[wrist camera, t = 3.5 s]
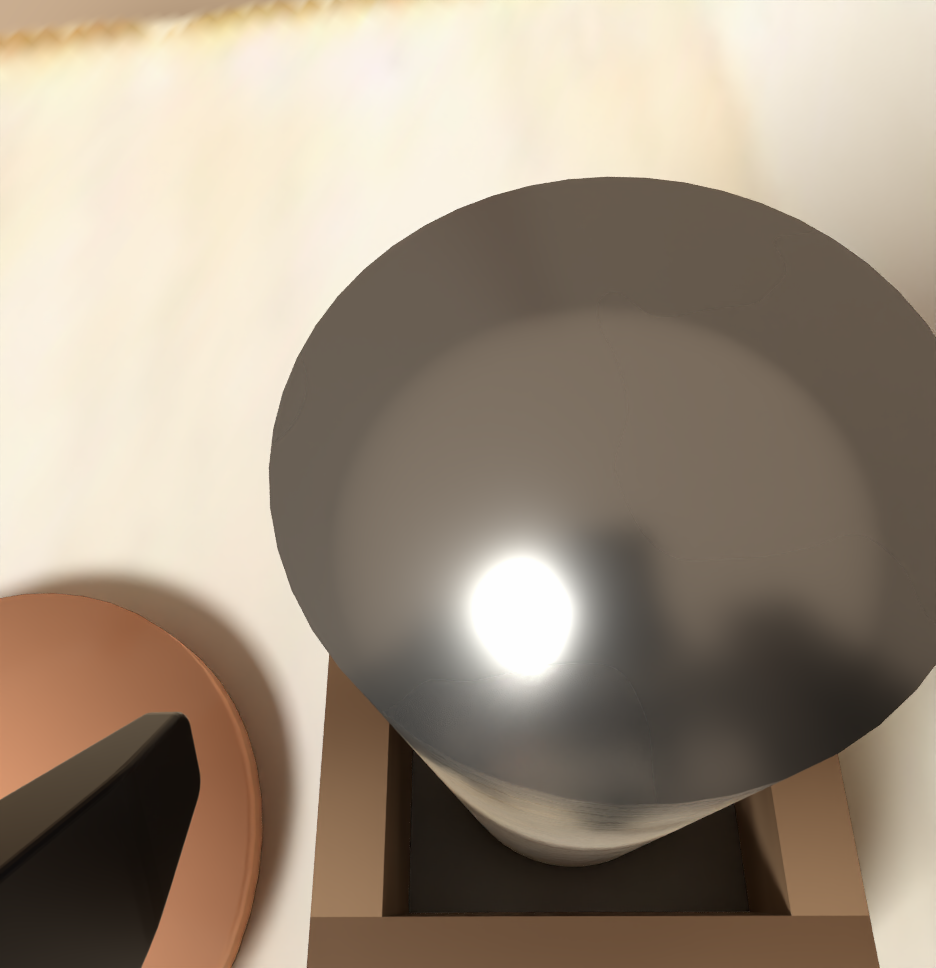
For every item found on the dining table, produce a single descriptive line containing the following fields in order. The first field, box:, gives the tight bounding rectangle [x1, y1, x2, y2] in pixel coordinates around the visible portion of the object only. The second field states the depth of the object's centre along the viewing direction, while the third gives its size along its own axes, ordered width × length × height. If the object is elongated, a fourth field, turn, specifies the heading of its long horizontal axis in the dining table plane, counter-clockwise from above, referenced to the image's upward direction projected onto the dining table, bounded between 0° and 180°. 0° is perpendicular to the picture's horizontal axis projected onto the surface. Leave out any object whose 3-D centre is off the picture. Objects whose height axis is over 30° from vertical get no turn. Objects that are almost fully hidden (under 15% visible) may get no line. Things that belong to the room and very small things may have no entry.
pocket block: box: [307, 654, 880, 968], centre depth 16 cm, size 9×9×3 cm
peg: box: [269, 177, 936, 867], centre depth 12 cm, size 5×5×13 cm
